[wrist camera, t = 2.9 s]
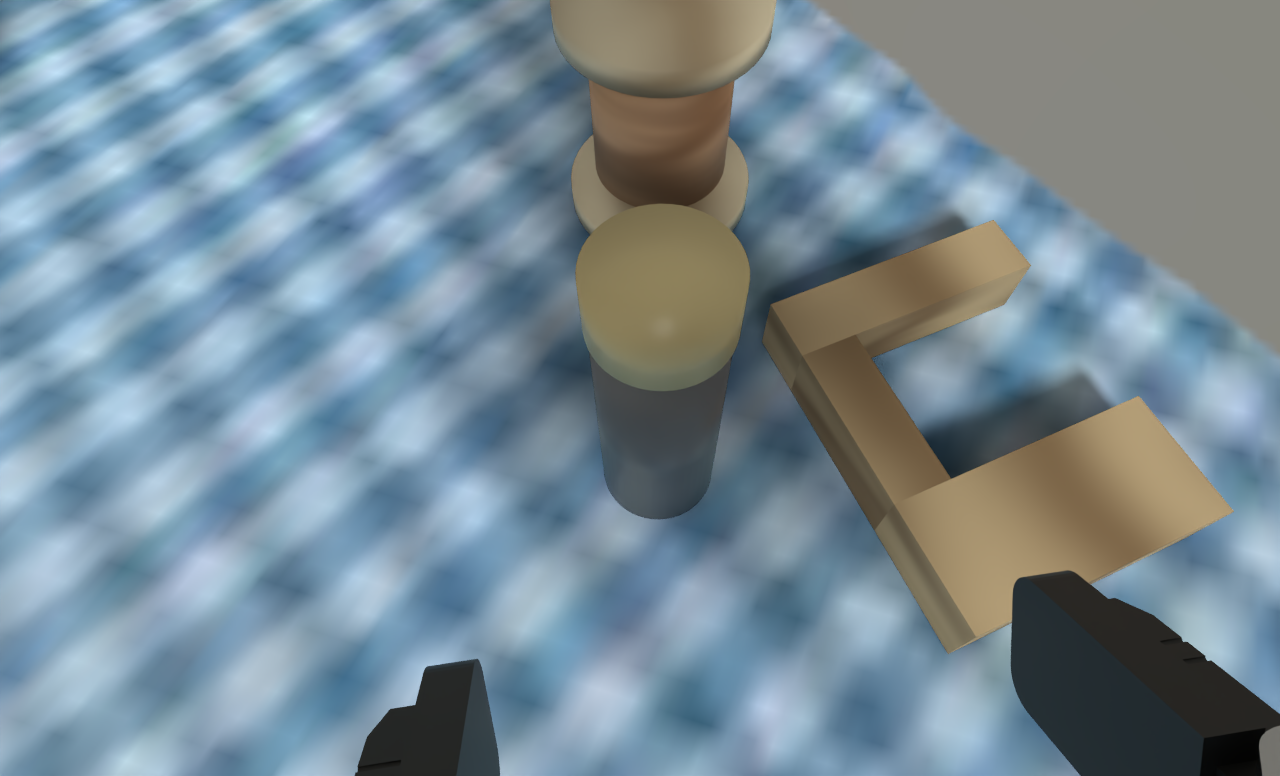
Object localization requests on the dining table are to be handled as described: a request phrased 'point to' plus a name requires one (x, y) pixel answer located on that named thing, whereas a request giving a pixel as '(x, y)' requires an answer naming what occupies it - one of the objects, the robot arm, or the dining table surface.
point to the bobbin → (661, 101)
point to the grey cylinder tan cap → (660, 348)
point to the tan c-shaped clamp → (997, 491)
